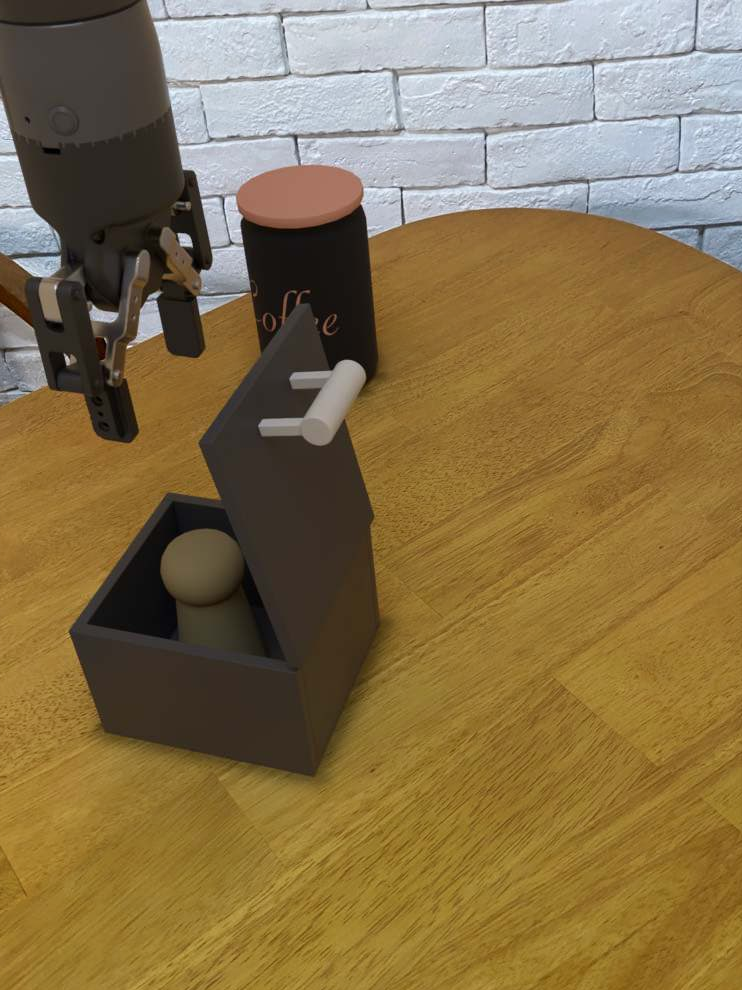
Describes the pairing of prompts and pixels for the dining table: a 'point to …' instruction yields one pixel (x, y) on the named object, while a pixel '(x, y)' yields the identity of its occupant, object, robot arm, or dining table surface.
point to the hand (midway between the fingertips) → (154, 394)
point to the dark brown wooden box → (218, 658)
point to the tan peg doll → (211, 592)
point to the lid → (292, 479)
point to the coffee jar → (311, 257)
